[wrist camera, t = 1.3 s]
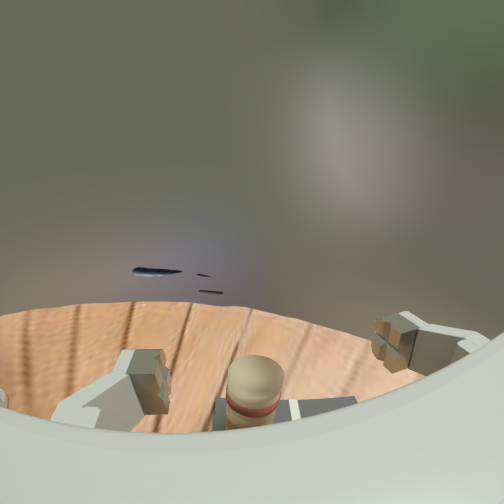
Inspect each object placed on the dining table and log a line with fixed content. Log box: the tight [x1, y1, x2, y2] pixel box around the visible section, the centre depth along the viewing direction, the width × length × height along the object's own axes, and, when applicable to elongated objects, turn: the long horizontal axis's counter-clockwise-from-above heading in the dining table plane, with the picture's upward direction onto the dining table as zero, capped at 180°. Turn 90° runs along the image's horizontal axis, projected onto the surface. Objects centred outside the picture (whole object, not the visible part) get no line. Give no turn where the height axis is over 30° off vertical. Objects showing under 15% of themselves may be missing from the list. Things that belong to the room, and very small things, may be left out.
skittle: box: [225, 355, 284, 430], centre depth 25 cm, size 5×5×12 cm
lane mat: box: [213, 396, 357, 431], centre depth 27 cm, size 20×14×1 cm
